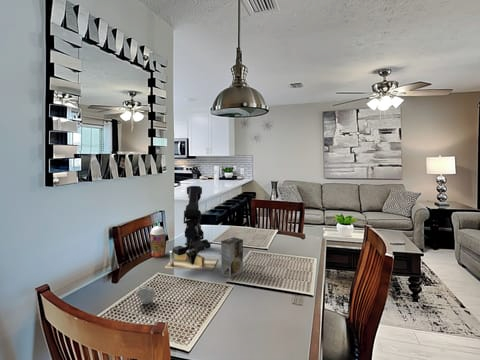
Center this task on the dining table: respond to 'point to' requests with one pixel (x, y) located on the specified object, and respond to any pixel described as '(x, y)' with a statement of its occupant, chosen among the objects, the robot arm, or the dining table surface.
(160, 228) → the smoothie
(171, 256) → the pin
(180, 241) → the dining table surface
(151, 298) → the grey head sculpture
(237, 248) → the coffee box
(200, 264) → the loose leaf
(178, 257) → the hinge base
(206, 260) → the mount board
